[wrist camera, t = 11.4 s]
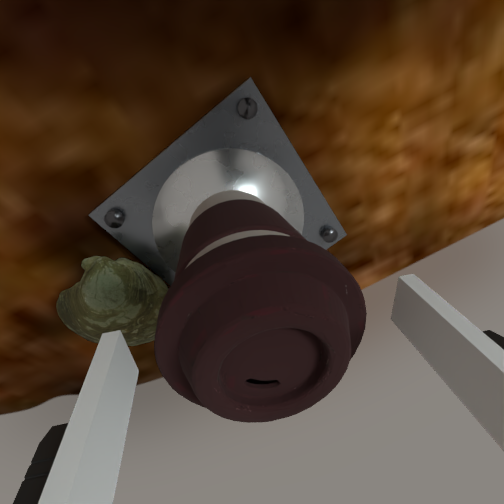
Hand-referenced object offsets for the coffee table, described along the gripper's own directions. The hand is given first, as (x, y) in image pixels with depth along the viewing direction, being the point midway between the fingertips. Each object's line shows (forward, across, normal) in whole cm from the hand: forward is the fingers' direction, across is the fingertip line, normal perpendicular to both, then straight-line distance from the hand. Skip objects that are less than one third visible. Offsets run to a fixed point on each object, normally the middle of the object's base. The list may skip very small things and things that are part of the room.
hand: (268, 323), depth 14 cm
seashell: (+14, -12, -6) cm, 19 cm away
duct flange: (+14, 0, -1) cm, 14 cm away
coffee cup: (+13, 0, -1) cm, 13 cm away
